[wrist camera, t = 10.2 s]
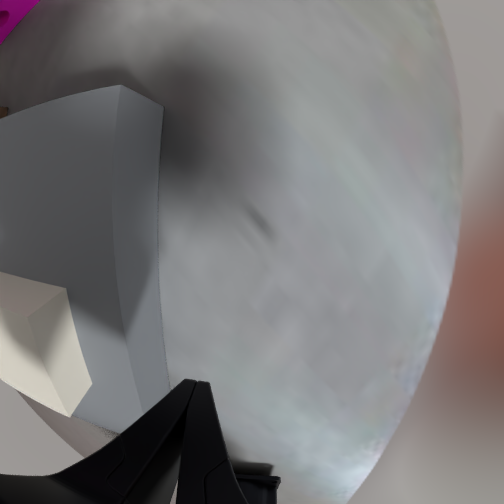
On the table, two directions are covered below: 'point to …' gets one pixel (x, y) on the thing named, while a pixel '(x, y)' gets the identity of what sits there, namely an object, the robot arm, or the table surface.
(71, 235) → the board
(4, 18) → the toy block
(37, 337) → the tile
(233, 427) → the table surface
